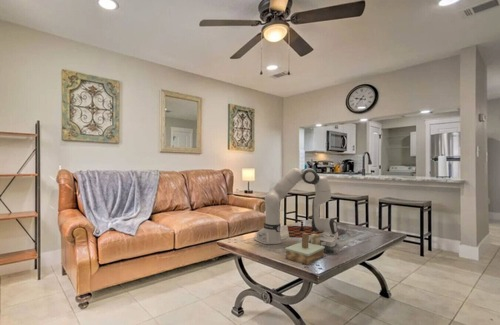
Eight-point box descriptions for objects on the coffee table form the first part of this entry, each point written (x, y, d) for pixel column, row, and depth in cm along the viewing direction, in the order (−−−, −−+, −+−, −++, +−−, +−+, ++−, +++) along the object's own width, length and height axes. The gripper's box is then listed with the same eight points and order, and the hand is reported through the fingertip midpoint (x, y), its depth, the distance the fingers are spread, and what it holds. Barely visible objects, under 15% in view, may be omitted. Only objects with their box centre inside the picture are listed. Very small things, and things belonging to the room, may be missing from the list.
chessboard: (329, 227, 257) (329, 216, 257) (339, 239, 217) (339, 226, 217) (287, 226, 261) (287, 215, 261) (289, 238, 221) (289, 224, 221)
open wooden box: (286, 257, 173) (286, 250, 173) (302, 250, 187) (302, 243, 187) (307, 264, 162) (308, 256, 162) (323, 256, 176) (323, 248, 176)
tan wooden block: (310, 252, 184) (311, 234, 184) (314, 250, 188) (314, 233, 188) (316, 253, 181) (316, 236, 181) (319, 252, 185) (320, 234, 185)
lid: (285, 249, 172) (285, 234, 172) (302, 243, 188) (302, 228, 188) (308, 256, 161) (308, 239, 161) (324, 248, 176) (325, 233, 176)
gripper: (311, 231, 201) (301, 235, 191) (337, 237, 187) (328, 241, 177) (311, 240, 201) (301, 244, 191) (337, 246, 187) (328, 251, 177)
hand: (314, 242), depth 184 cm, fingers open, 8 cm apart
